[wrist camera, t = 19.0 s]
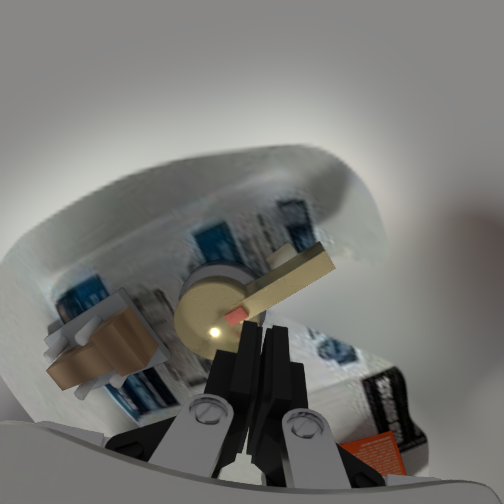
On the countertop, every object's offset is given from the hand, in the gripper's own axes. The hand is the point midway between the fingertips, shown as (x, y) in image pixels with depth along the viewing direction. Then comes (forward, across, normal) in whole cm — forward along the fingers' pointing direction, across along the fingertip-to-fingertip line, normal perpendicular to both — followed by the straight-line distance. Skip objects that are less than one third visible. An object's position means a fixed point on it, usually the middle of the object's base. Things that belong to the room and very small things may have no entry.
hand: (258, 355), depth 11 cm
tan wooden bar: (+16, +16, +15) cm, 27 cm away
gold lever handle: (+14, 0, +4) cm, 15 cm away
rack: (+17, +17, +16) cm, 29 cm away
